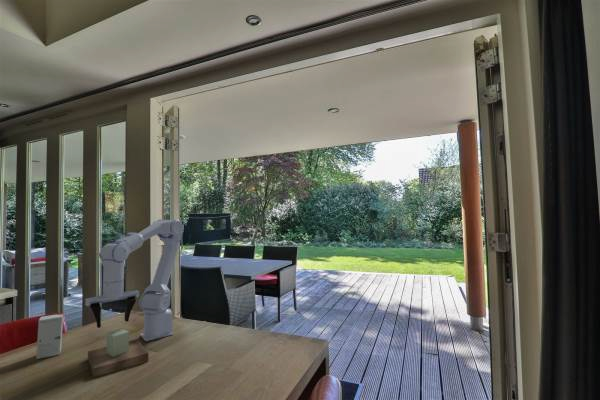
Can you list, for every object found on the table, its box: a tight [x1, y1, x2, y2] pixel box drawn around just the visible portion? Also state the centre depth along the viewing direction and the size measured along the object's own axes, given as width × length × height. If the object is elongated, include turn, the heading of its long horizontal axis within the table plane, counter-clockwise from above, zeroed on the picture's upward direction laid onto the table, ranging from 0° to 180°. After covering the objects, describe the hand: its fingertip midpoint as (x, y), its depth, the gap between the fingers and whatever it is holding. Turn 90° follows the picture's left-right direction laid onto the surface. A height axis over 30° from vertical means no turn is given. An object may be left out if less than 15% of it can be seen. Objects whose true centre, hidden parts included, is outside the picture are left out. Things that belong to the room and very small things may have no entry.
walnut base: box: [87, 338, 149, 378], centre depth 93 cm, size 14×14×2 cm
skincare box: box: [35, 313, 64, 360], centre depth 98 cm, size 6×4×12 cm
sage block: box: [106, 328, 130, 357], centre depth 93 cm, size 4×4×6 cm
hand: (113, 323), depth 96 cm, fingers open, 7 cm apart
